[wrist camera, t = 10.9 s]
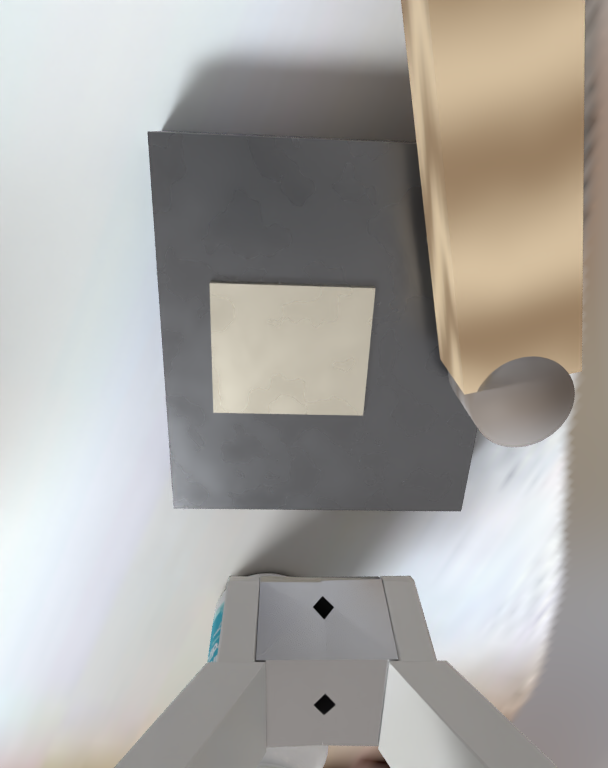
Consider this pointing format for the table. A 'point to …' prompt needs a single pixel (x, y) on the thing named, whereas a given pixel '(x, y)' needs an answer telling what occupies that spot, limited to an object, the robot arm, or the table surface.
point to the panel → (301, 327)
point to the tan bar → (503, 201)
